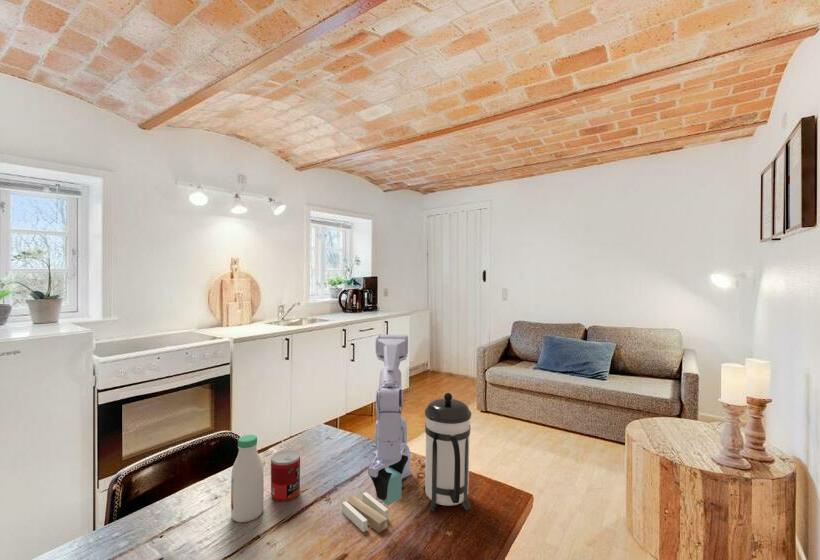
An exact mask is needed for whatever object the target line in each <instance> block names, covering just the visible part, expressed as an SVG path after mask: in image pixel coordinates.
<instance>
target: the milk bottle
mask: <svg viewBox="0 0 820 560" xmlns="http://www.w3.org/2000/svg"><path fill="white" fill-rule="evenodd" d="M257 446H258V436H257V435H256V434H246V435H242V436H240V437H239V438H238V440H237V449H238V452H237V456H236V458H235V461H234V463H233V465H232V469H231V479H230V480H231V483H230V487H231V488H230V491H231V492H230V493H231V494H230V498H231V499H230V506H231V507H230V509H231V511H230V513H231V518H232V520H233V521H235V522H237V523H247V522H251V521H254V520H256V519H257V518H259V517H260V516H261V515H262V513H263V511H264V490H265V489H264V464H263V461H262V459H261V456H260V455H259V453H258V450H257Z"/></svg>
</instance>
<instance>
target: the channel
mask: <svg viewBox="0 0 820 560" xmlns="http://www.w3.org/2000/svg"><path fill="white" fill-rule="evenodd" d="M361 498H362V500H361V501H362V502H363V503H365V504H366V505H368V506H369V507H371V508H372V509H374V510H375V511H377V512H378V513H380V514H381V515H383V516H384V517H386V518H387V520H388V519H389V509H388V508H387V507H386V506H384V505H383V504H382V503H381V502H380V501H378V500H377V499H375V498H374V496H373V495H371V494H370V493H368V492H367V491H365V492H363V493H362V497H361ZM341 513H342V514H343V515H344V516H345V517H346V518H348V519H349V520H350V522H352V523H353V524H354V525H355V526H356V527H357V528H358V529H359V530H360V531H362V533H365V532H367V531H368V524H367V519H366V518H365V517H363V516H362V515H361V514H360V513H359V512H358V511H357V510H356V509H354V508H353V507H352V506H351V505H350V504H349V503H348V502H347V501H345V500H344V501H343V502H341Z"/></svg>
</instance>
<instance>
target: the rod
mask: <svg viewBox="0 0 820 560" xmlns="http://www.w3.org/2000/svg"><path fill="white" fill-rule="evenodd" d="M345 501H347V502H348V503H349V504H350V505H351V506H352V507H353V508H354V509H356V510H357V511H358V512H359V513H360V514H361V515H362V516H363V517H365V518H366V519H367V526H370V527H371V529H374V530H375V531H376V532H378V533H379V534H381V532H384V531H385V530H386V529H388V519H387V518H386V517H384V516H383V515H381V514H380V513H378V512H377V511H375V510H374V509H372V508H371V507H369V506H368V505H366V504H365V503H363V502H362V500H361V499H359V498H357V497H356V496H354V495H353V494H351V495H350V496H348V497H346V498H344V502H345Z"/></svg>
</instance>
